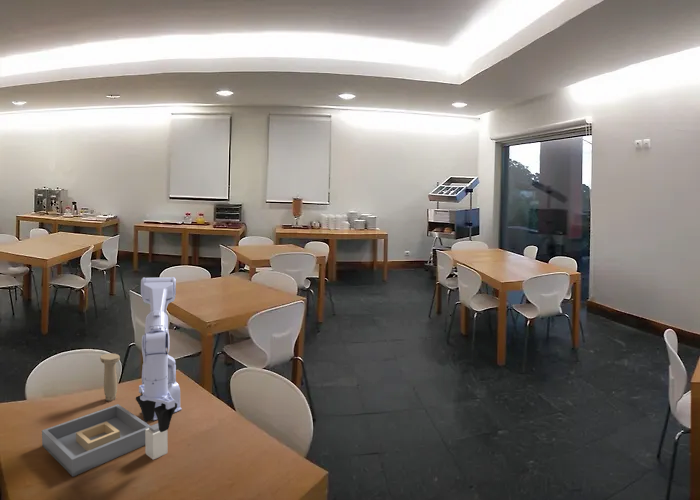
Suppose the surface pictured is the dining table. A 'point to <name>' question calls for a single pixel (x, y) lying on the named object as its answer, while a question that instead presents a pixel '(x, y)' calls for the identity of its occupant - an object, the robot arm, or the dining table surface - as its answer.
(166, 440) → the plug
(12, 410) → the dining table surface
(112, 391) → the handle
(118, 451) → the box
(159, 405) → the robot arm
